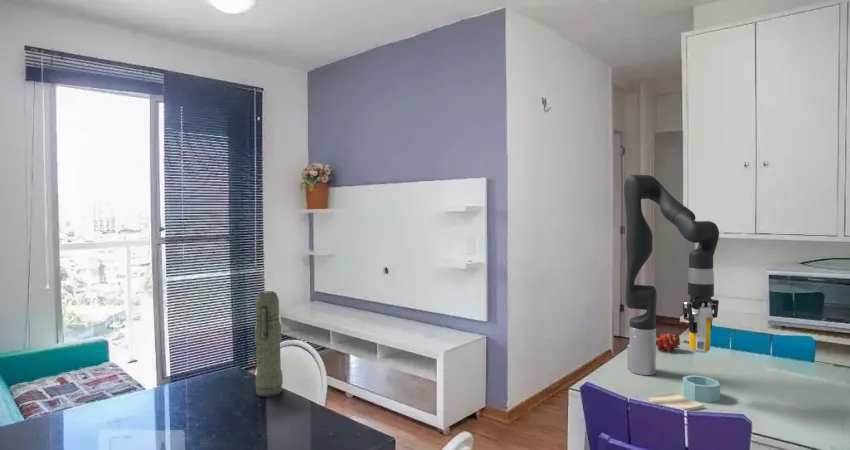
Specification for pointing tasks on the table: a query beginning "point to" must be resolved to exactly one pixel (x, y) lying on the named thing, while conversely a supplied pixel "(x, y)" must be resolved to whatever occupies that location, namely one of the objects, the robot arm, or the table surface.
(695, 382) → the can holder
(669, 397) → the birch board
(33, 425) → the table surface
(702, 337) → the beer can
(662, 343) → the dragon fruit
